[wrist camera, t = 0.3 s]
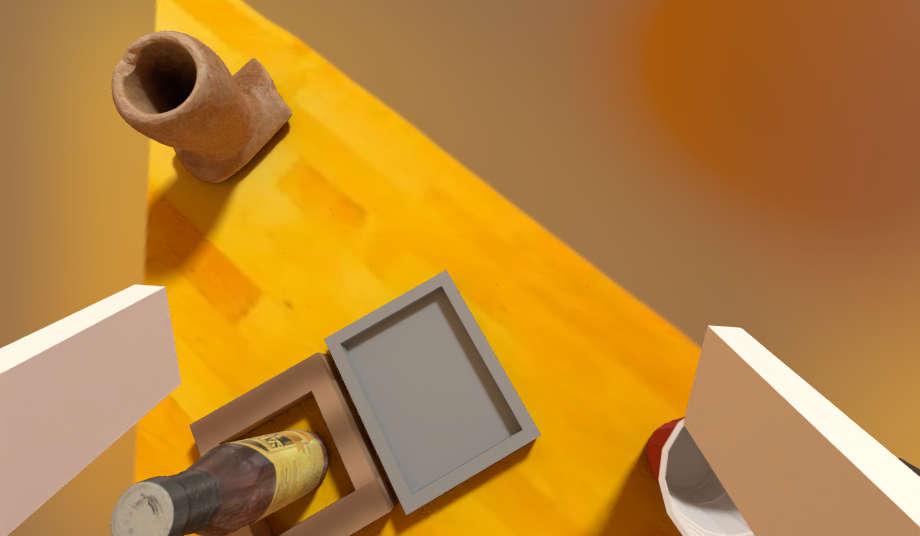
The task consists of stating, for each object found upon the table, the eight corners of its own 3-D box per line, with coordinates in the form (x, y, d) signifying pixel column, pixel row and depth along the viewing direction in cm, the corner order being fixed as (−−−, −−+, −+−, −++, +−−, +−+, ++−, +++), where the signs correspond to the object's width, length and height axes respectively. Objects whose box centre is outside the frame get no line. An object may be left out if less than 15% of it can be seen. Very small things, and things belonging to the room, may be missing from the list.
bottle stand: (397, 503, 43) (390, 511, 40) (266, 580, 43) (249, 594, 40) (328, 354, 47) (317, 352, 45) (208, 422, 47) (189, 425, 44)
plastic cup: (622, 520, 41) (668, 572, 30) (613, 396, 44) (653, 399, 32) (749, 525, 40) (848, 581, 28) (732, 398, 43) (816, 401, 31)
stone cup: (228, 210, 53) (125, 143, 39) (171, 150, 56) (55, 67, 41) (322, 122, 55) (258, 27, 40) (262, 68, 58) (181, -38, 43)
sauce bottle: (325, 420, 46) (196, 442, 27) (337, 485, 44) (209, 560, 25) (263, 438, 46) (91, 473, 27) (272, 504, 44) (96, 592, 25)
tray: (539, 432, 44) (541, 435, 41) (411, 508, 43) (406, 515, 41) (449, 275, 48) (446, 269, 46) (333, 341, 48) (324, 339, 45)
